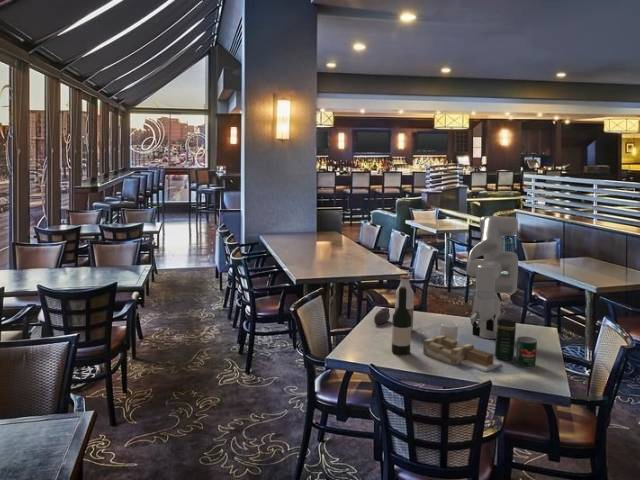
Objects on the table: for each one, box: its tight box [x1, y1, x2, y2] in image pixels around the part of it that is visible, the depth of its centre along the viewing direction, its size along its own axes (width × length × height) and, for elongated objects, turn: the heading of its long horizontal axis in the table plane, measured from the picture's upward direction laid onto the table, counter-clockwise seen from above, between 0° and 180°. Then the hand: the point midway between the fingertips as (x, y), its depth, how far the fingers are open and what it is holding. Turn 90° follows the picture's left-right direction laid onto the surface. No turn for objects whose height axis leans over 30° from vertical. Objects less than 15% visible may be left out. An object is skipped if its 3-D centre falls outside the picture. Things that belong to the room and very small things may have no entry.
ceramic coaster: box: [460, 359, 503, 373], centre depth 226 cm, size 12×12×1 cm
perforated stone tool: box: [373, 307, 391, 326], centre depth 285 cm, size 15×5×7 cm, turn 145°
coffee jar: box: [494, 314, 517, 361], centre depth 234 cm, size 10×8×19 cm
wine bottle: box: [391, 286, 412, 356], centre depth 238 cm, size 8×8×30 cm
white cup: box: [440, 321, 459, 341], centre depth 250 cm, size 8×8×10 cm
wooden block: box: [466, 348, 495, 366], centre depth 227 cm, size 5×10×4 cm, turn 40°
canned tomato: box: [515, 336, 538, 369], centre depth 226 cm, size 8×8×11 cm
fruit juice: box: [394, 274, 415, 332], centre depth 271 cm, size 9×9×28 cm
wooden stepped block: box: [422, 334, 475, 366], centre depth 236 cm, size 13×17×6 cm
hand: (482, 332), depth 225 cm, fingers open, 9 cm apart
